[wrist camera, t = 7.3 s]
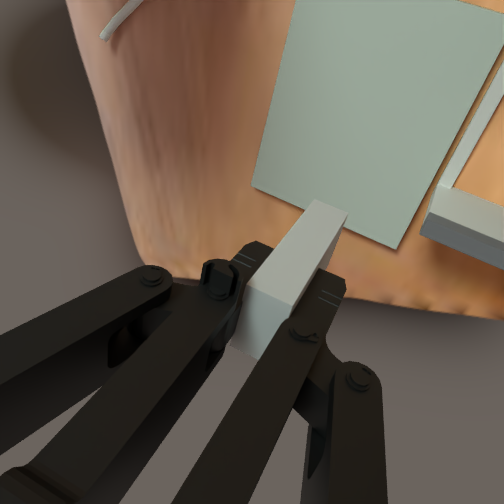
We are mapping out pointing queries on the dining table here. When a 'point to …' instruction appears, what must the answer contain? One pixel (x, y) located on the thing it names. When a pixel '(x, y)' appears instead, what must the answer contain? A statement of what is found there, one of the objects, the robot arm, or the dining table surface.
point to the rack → (468, 196)
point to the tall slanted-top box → (119, 18)
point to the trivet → (372, 104)
